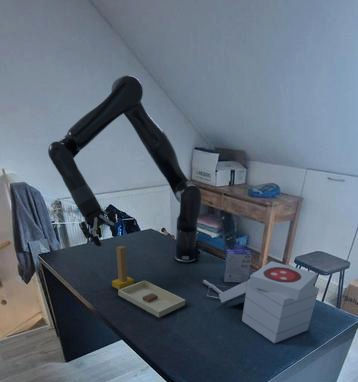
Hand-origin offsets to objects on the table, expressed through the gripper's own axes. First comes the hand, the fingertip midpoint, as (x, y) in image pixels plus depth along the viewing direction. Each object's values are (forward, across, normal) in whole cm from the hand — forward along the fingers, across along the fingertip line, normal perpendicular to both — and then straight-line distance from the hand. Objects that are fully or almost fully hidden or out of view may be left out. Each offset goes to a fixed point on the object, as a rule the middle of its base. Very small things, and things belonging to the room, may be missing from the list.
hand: (108, 240), depth 128 cm
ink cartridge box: (+37, +28, -26) cm, 53 cm away
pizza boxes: (+42, +8, -49) cm, 64 cm away
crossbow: (+34, +14, -28) cm, 46 cm away
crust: (+22, -8, -18) cm, 30 cm away
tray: (+23, -8, -18) cm, 30 cm away
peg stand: (+17, -6, -3) cm, 19 cm away
